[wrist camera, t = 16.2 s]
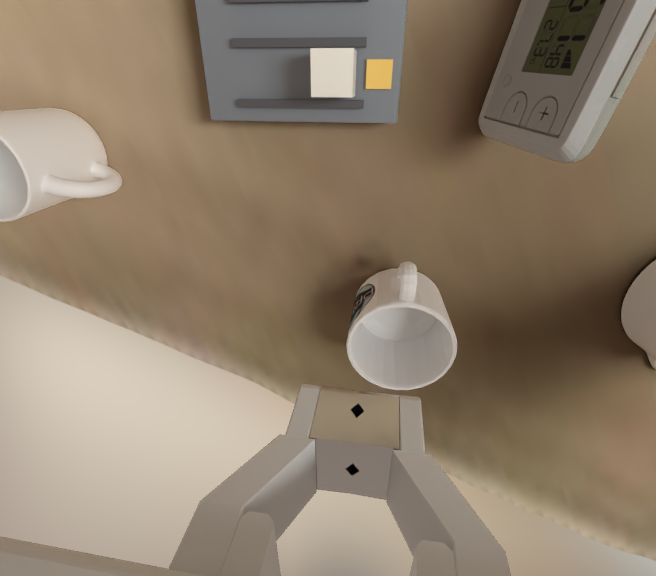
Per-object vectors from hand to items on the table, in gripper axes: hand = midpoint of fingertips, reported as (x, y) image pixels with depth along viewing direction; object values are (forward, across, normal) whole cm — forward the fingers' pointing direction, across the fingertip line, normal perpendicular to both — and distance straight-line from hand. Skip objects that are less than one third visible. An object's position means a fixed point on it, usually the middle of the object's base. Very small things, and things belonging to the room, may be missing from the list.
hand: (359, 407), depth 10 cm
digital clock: (+31, -12, -10) cm, 34 cm away
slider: (+26, +4, -8) cm, 28 cm away
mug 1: (+29, +30, 0) cm, 42 cm away
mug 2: (+30, -2, +14) cm, 33 cm away
